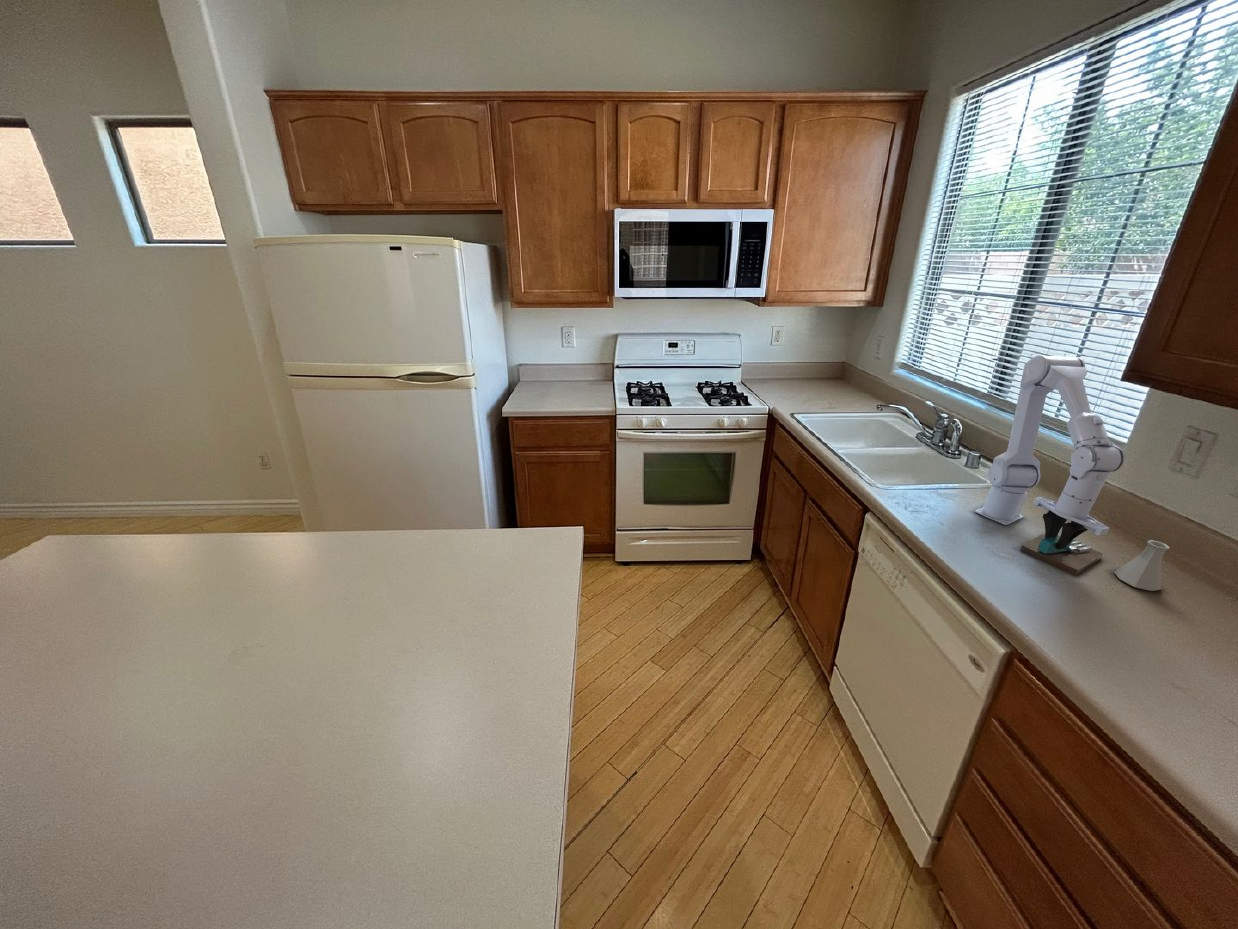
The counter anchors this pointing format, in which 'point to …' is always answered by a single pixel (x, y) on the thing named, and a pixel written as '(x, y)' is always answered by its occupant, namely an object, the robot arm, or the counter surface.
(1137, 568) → the flask
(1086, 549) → the fork
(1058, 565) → the cutting board
